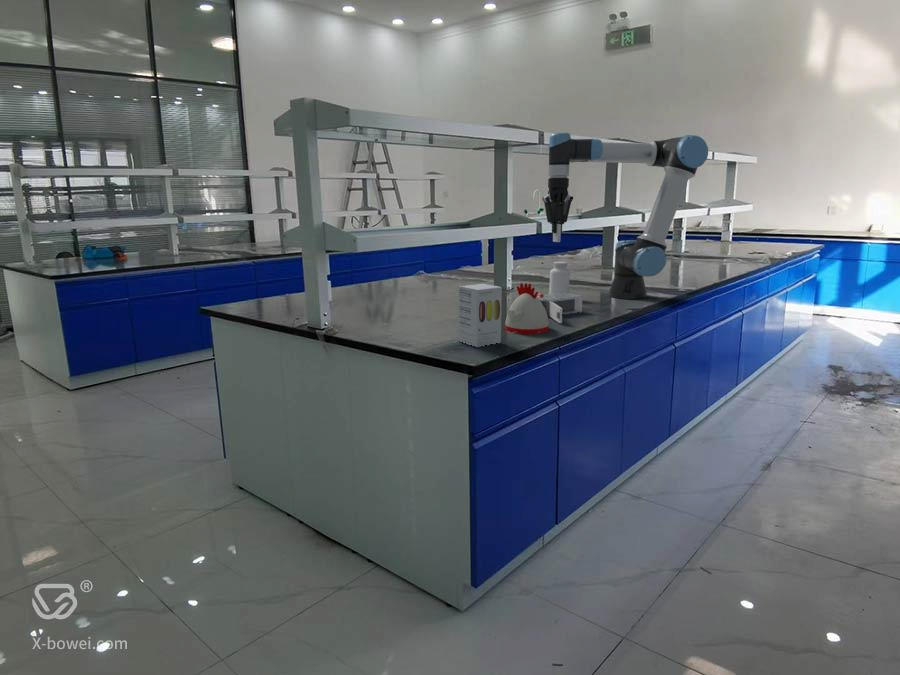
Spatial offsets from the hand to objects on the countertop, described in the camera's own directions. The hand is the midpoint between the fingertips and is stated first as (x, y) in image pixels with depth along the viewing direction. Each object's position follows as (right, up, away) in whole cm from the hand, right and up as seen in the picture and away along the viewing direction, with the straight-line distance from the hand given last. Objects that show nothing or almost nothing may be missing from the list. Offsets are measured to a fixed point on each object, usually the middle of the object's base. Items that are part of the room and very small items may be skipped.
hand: (556, 241), depth 229 cm
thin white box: (-4, -30, -21) cm, 37 cm away
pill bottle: (+4, -21, +19) cm, 28 cm away
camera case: (-3, -27, -8) cm, 28 cm away
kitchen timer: (-15, -34, -33) cm, 50 cm away
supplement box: (-31, -38, -49) cm, 70 cm away
